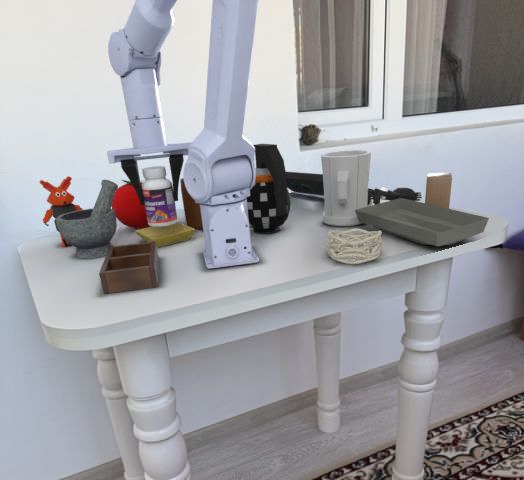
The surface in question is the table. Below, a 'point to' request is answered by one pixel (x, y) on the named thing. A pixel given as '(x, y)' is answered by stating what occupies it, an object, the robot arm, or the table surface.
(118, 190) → the tomato
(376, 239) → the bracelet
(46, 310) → the table surface
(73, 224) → the mortar and pestle
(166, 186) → the pill bottle
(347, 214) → the cup
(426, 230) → the grey tray
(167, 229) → the saucer
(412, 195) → the figurine
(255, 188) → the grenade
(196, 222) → the mug
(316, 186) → the smart home device
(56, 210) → the toy animal
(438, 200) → the wooden block
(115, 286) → the rack
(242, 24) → the robot arm
